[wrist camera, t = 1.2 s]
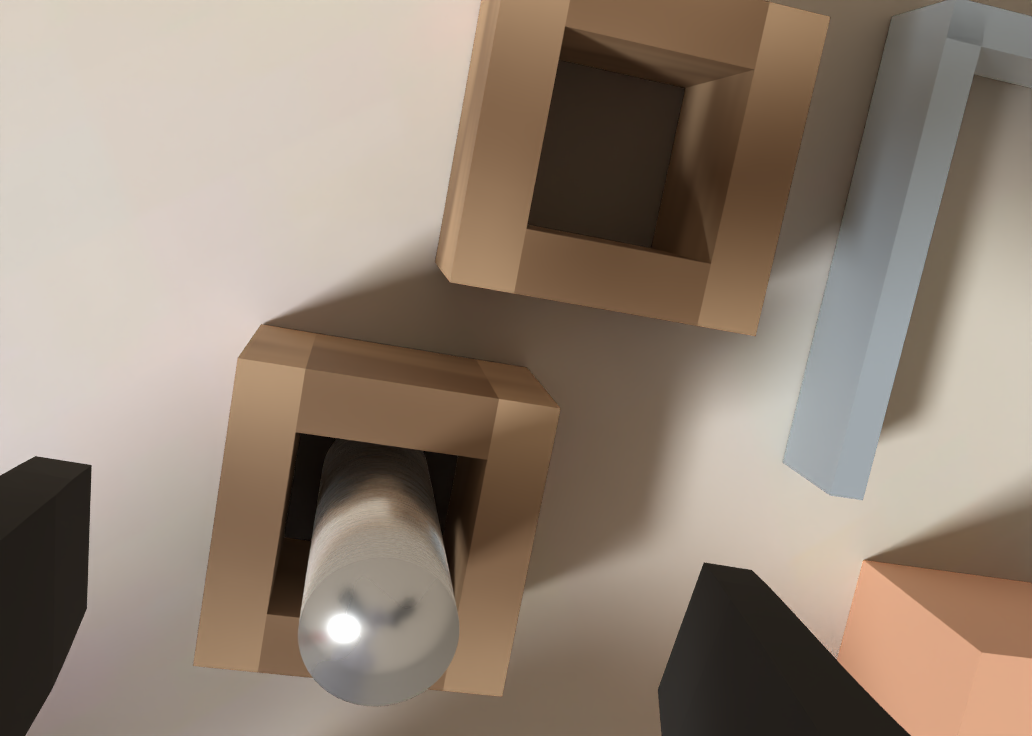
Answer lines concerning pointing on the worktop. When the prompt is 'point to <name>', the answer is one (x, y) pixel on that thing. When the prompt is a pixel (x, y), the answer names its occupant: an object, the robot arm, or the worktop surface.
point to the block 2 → (692, 168)
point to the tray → (893, 228)
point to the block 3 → (942, 649)
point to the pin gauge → (377, 578)
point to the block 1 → (387, 421)
